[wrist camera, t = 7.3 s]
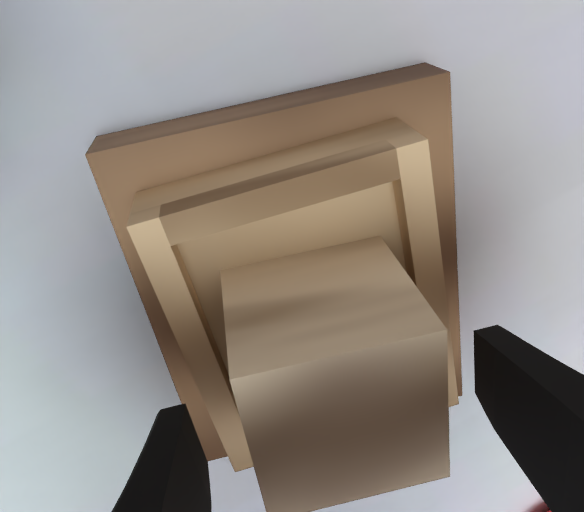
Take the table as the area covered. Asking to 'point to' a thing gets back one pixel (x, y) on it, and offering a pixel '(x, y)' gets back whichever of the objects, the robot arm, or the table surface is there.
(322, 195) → the tower top
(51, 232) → the table surface
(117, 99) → the table surface
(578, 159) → the table surface
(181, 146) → the tower base
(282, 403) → the cube
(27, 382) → the table surface
